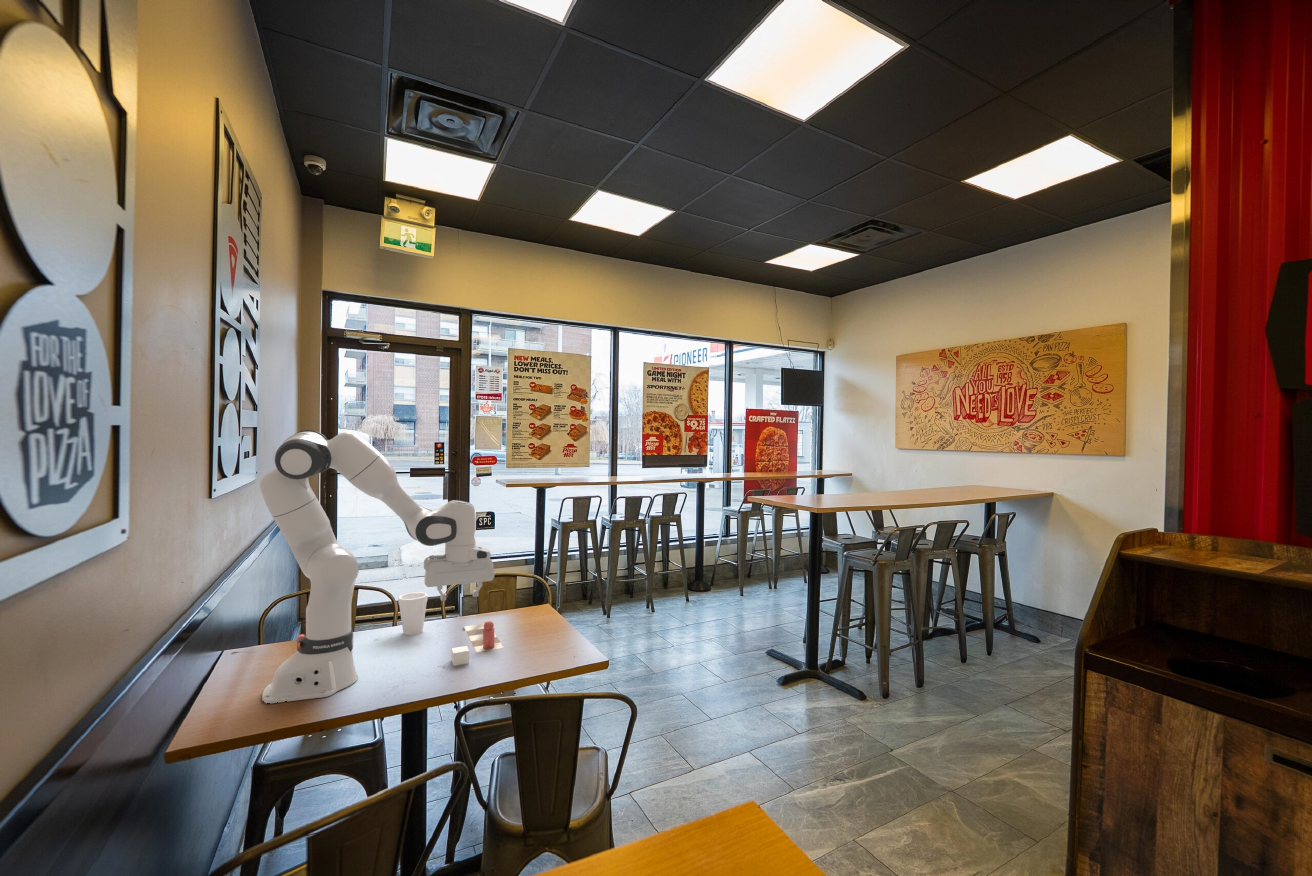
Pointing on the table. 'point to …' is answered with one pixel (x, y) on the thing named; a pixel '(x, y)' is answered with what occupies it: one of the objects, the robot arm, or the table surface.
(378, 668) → the table surface
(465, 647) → the white cube
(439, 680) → the table surface
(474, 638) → the board
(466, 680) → the table surface
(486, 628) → the red bottle
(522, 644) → the table surface
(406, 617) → the foam cup
